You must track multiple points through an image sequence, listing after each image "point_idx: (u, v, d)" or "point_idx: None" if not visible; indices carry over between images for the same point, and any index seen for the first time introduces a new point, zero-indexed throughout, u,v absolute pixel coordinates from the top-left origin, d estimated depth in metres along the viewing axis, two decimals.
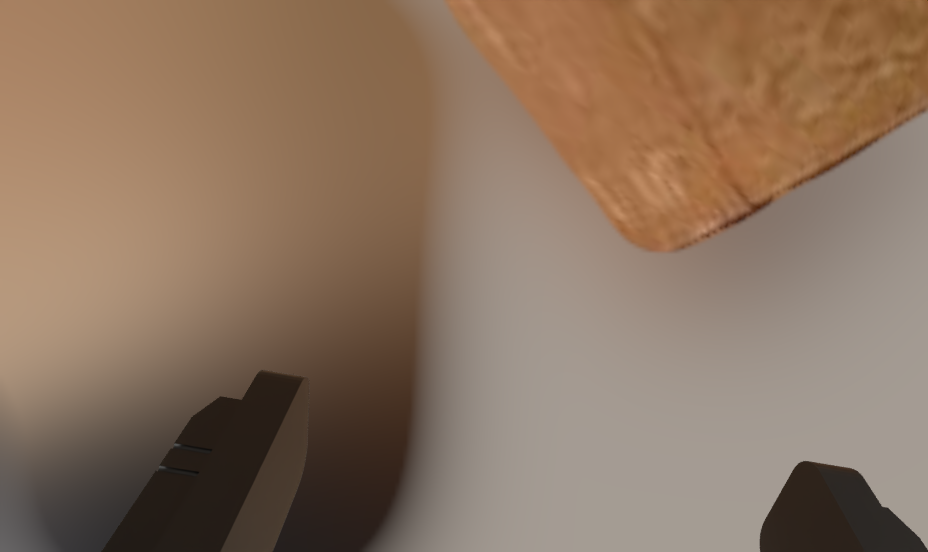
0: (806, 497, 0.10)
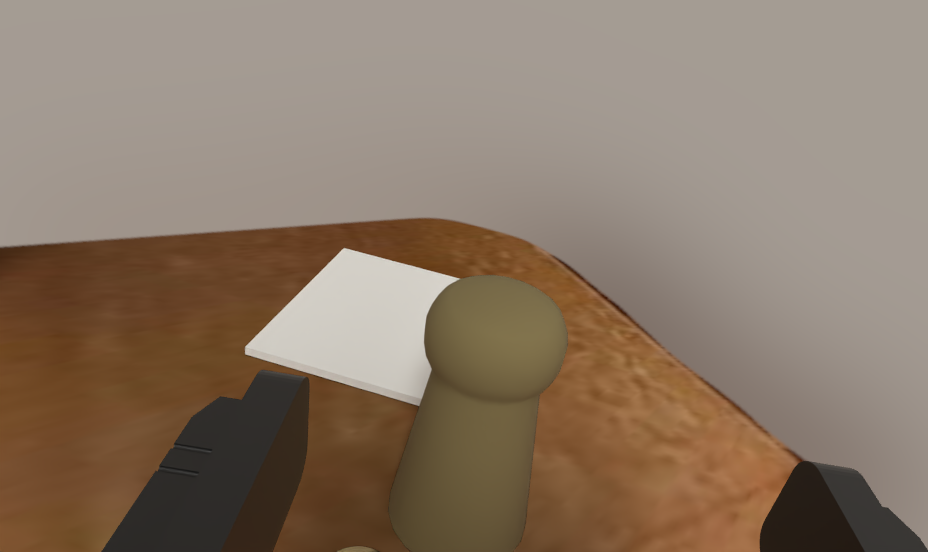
0: (806, 497, 0.10)
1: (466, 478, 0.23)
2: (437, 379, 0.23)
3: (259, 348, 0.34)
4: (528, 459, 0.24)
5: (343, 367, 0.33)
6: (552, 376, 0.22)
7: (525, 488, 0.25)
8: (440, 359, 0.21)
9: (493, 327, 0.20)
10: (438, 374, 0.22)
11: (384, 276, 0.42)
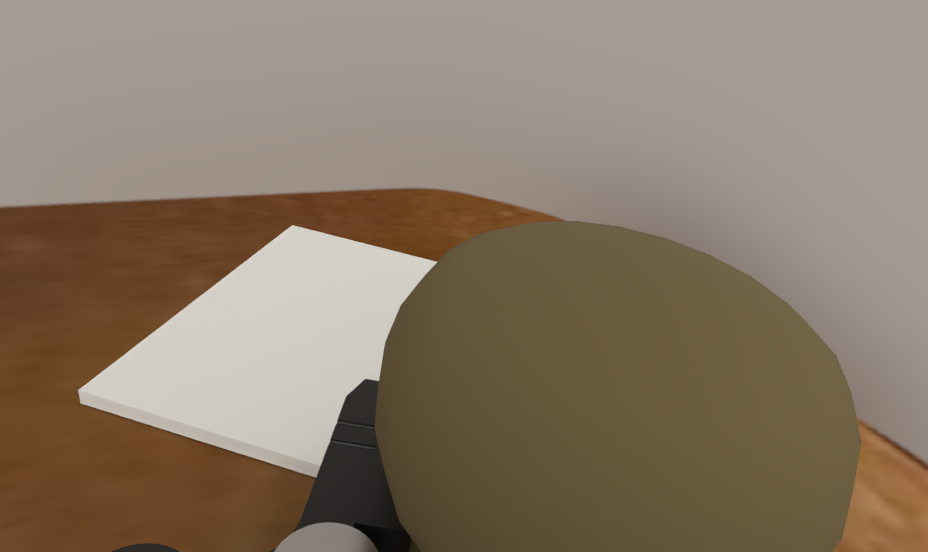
0: None
1: None
2: None
3: (105, 392, 0.18)
4: None
5: (258, 427, 0.18)
6: None
7: None
8: (426, 509, 0.06)
9: (638, 397, 0.05)
10: (420, 547, 0.06)
11: (351, 266, 0.27)
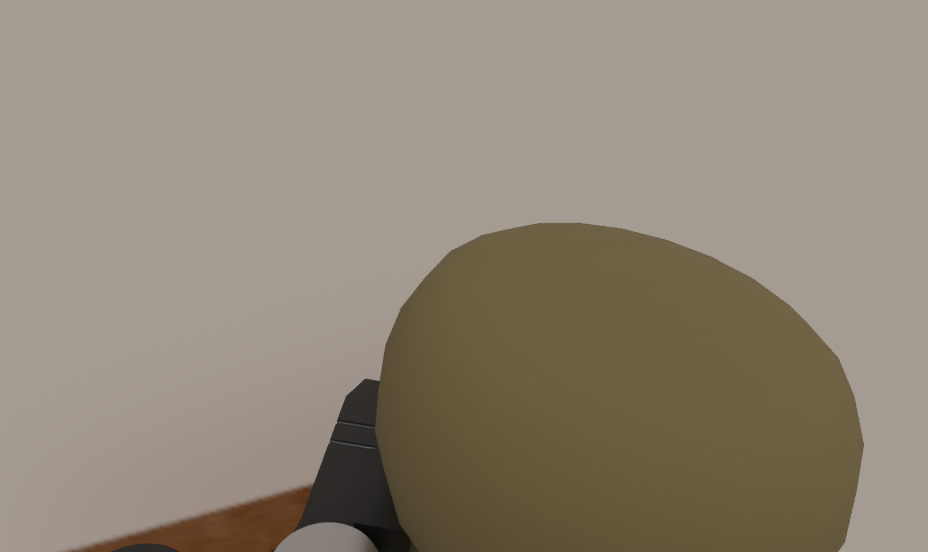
0: None
1: None
2: None
3: None
4: None
5: None
6: None
7: None
8: (426, 513, 0.06)
9: (640, 401, 0.05)
10: (421, 551, 0.06)
11: None
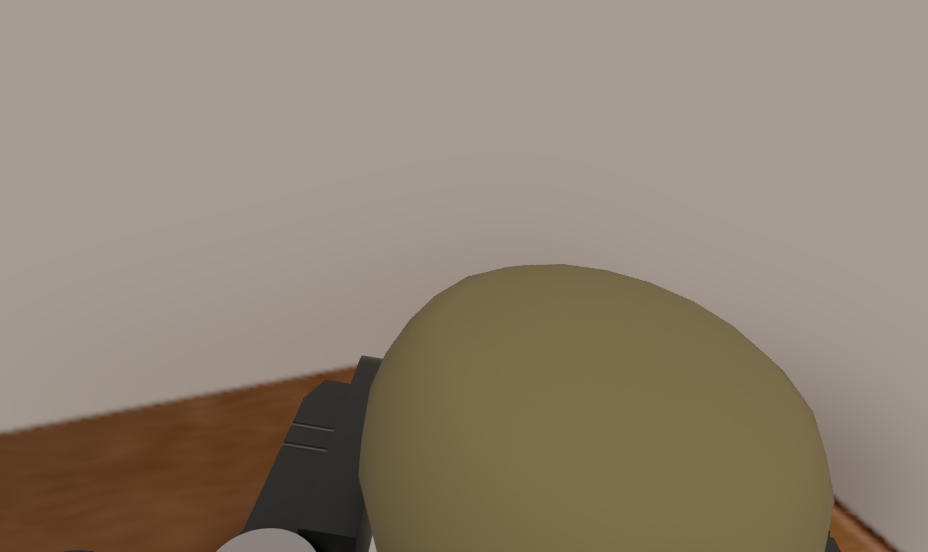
0: None
1: None
2: None
3: None
4: None
5: None
6: None
7: None
8: None
9: (614, 468, 0.05)
10: None
11: None
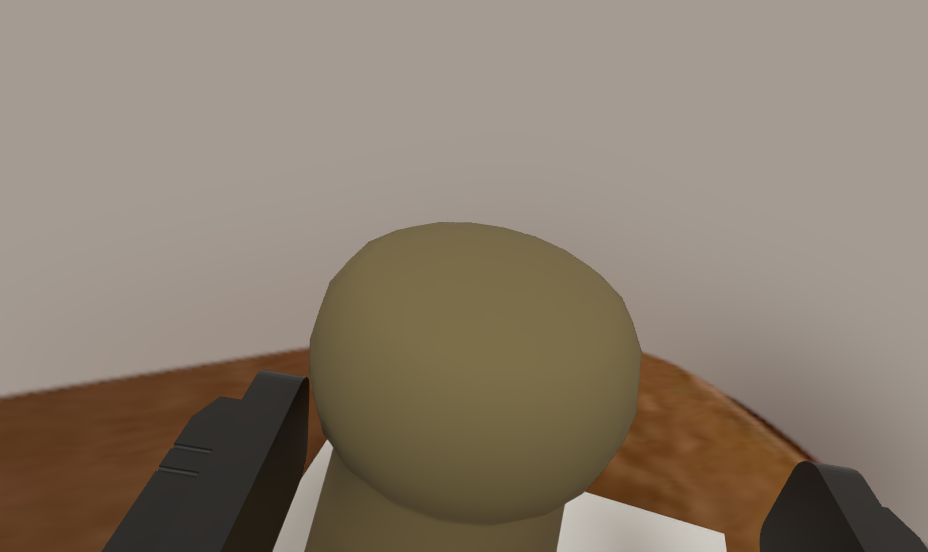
0: (806, 497, 0.10)
1: None
2: None
3: None
4: None
5: None
6: (609, 458, 0.09)
7: None
8: (335, 418, 0.08)
9: (467, 341, 0.08)
10: (336, 449, 0.09)
11: None
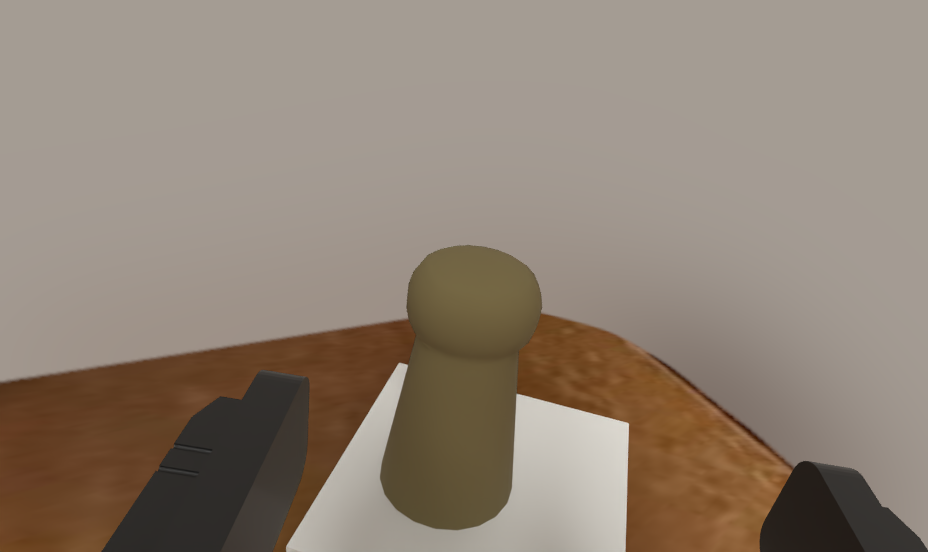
0: (806, 497, 0.10)
1: (450, 437, 0.24)
2: (420, 343, 0.24)
3: (306, 548, 0.24)
4: (510, 420, 0.25)
5: None
6: (527, 334, 0.23)
7: (508, 449, 0.26)
8: (421, 320, 0.23)
9: (469, 287, 0.22)
10: (420, 336, 0.23)
11: None
